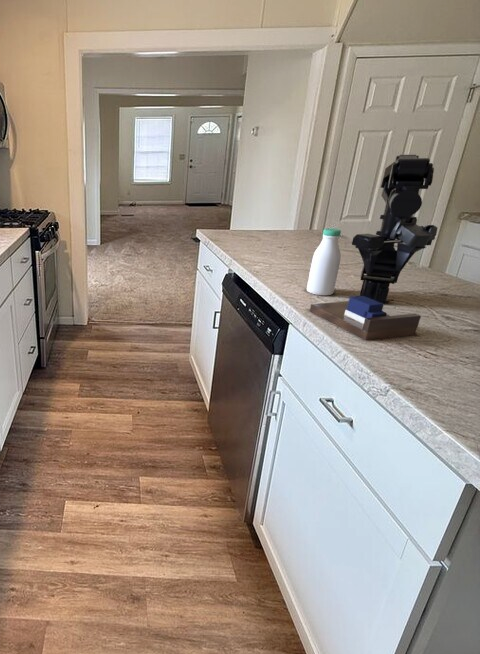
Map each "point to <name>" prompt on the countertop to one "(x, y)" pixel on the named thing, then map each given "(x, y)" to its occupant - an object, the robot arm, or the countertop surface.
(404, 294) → the countertop surface
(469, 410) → the countertop surface
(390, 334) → the brown wooden tray
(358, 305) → the navy white-based block
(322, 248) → the milk bottle
